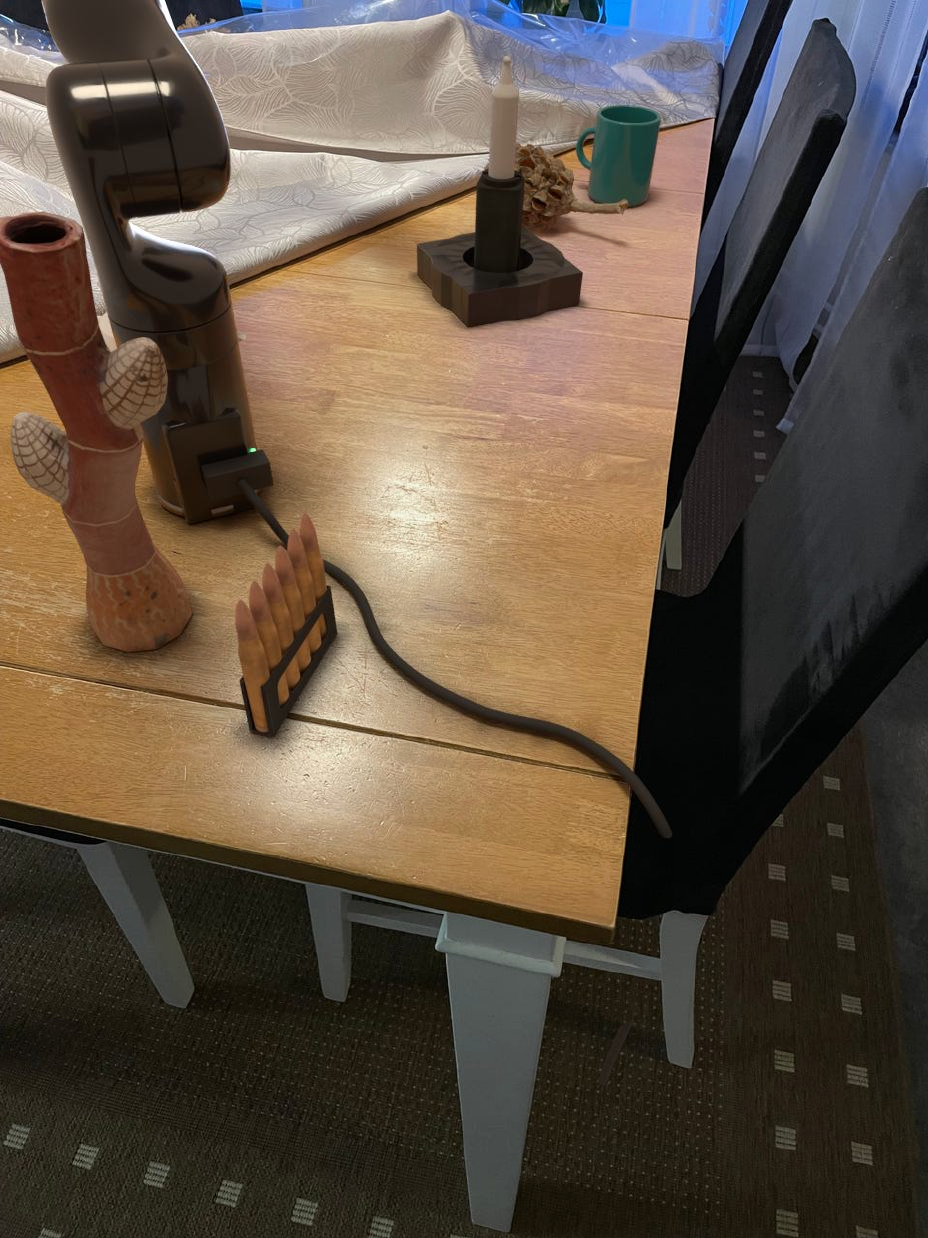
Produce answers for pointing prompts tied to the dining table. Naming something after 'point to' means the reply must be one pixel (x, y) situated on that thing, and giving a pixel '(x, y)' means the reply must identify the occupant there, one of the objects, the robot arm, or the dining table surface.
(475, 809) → the dining table surface
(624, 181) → the cup
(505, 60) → the candle
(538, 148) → the pine cone
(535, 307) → the candle base
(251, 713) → the ammunition clip
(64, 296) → the vase
